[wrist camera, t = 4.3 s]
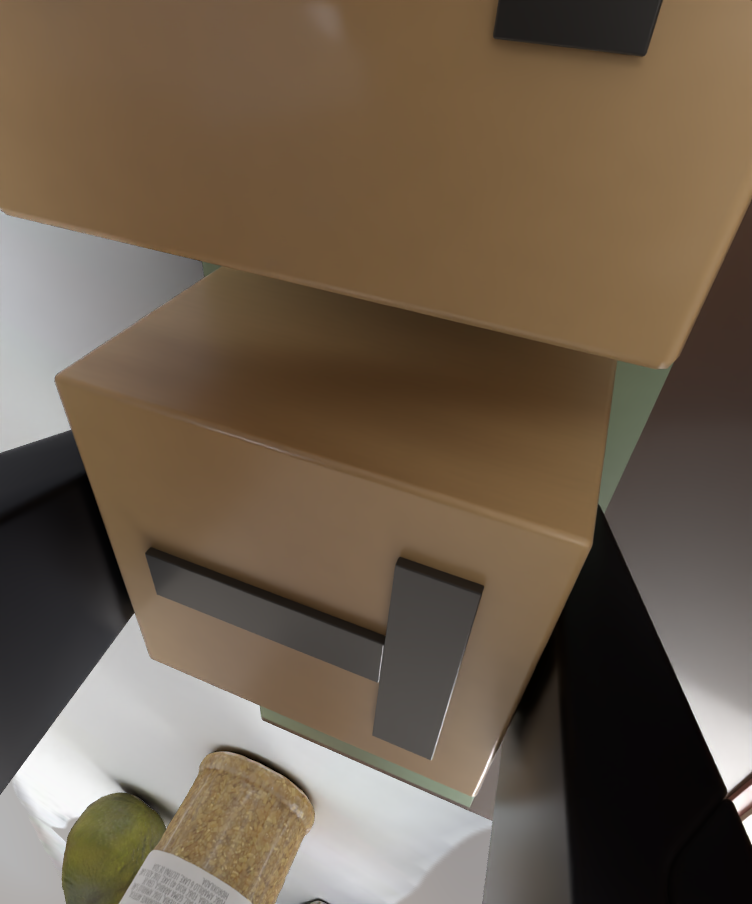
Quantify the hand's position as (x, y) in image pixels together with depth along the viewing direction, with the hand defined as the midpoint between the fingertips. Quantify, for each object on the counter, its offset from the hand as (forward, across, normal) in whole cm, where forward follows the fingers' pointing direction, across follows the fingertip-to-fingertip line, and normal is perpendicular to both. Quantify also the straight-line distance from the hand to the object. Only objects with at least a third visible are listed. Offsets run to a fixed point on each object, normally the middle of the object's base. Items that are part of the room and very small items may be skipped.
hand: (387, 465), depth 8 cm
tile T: (0, 0, 0) cm, 0 cm away
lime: (+2, +11, +28) cm, 30 cm away
